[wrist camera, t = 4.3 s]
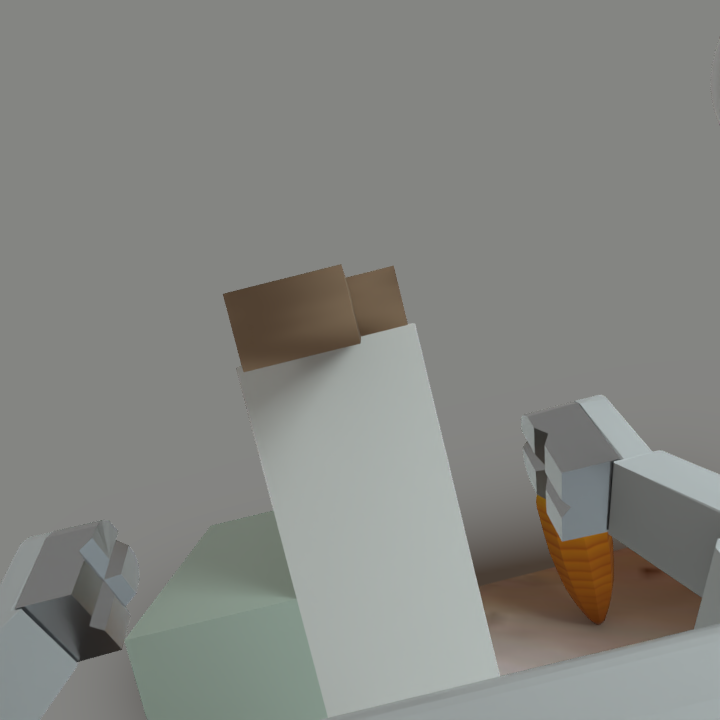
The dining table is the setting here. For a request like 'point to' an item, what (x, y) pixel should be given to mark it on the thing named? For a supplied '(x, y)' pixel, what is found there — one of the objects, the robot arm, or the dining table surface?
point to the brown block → (312, 314)
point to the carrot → (582, 566)
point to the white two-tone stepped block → (325, 557)
